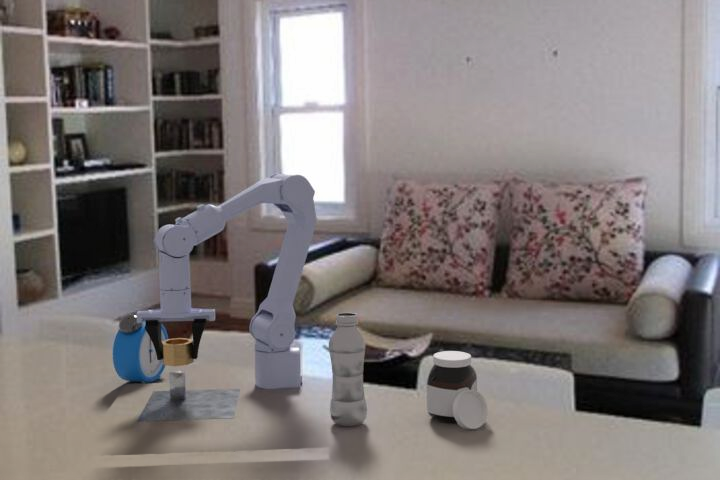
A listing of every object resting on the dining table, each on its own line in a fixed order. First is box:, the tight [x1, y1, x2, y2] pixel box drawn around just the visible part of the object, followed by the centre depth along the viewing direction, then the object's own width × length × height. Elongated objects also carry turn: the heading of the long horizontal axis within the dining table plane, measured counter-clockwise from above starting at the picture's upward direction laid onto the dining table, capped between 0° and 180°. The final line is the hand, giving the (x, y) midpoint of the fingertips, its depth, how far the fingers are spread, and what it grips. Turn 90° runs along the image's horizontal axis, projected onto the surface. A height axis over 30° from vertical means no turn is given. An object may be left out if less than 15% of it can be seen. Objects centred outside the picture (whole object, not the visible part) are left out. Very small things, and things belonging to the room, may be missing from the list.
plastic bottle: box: [328, 312, 368, 427], centre depth 154 cm, size 6×7×20 cm
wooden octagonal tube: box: [161, 337, 195, 367], centre depth 165 cm, size 6×6×4 cm
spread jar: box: [426, 350, 489, 430], centre depth 156 cm, size 12×11×12 cm
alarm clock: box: [112, 307, 169, 384], centre depth 183 cm, size 13×6×15 cm, turn 162°
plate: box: [136, 370, 241, 422], centre depth 163 cm, size 17×18×6 cm
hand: (177, 358), depth 165 cm, fingers closed on wooden octagonal tube, 6 cm apart
